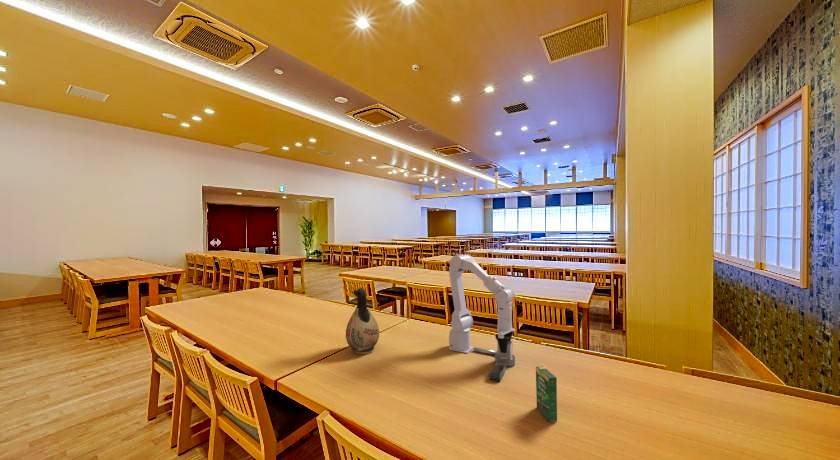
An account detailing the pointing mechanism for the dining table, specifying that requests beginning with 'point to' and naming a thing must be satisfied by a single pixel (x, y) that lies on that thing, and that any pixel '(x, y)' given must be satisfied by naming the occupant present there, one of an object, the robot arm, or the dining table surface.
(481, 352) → the bar
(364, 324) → the ceramic jug
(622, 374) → the dining table surface
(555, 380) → the coffee box
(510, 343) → the socket
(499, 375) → the ratchet
